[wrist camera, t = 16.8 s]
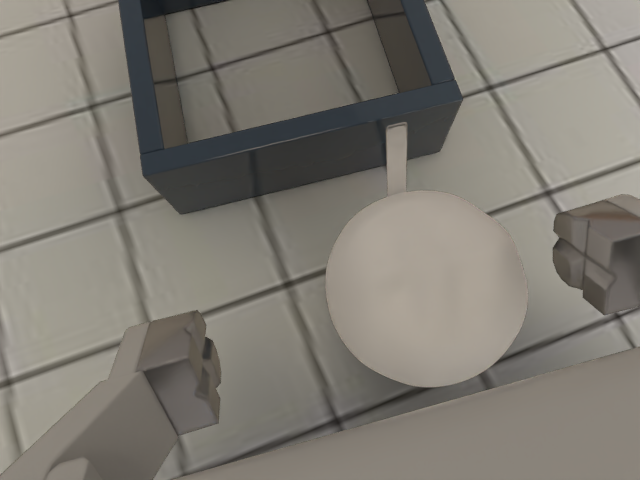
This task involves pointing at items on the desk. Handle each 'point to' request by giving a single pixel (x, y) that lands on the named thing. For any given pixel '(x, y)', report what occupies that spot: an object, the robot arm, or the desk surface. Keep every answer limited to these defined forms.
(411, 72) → the square frame
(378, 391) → the desk surface
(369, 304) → the milkshake
